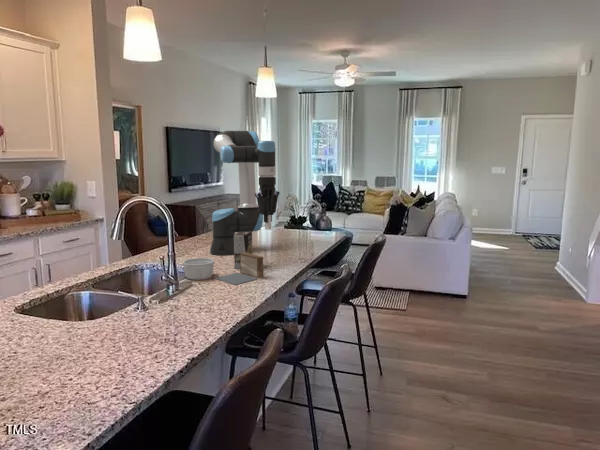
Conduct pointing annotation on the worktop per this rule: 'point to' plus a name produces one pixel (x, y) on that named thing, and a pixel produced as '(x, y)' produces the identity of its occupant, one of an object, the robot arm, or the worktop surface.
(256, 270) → the wooden block
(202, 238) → the worktop surface
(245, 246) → the coffee box
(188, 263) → the ramekin
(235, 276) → the mat
